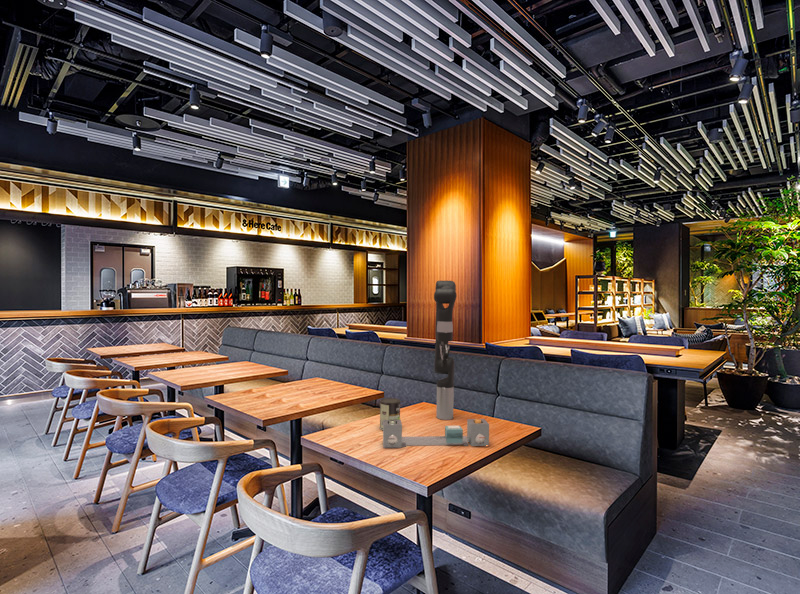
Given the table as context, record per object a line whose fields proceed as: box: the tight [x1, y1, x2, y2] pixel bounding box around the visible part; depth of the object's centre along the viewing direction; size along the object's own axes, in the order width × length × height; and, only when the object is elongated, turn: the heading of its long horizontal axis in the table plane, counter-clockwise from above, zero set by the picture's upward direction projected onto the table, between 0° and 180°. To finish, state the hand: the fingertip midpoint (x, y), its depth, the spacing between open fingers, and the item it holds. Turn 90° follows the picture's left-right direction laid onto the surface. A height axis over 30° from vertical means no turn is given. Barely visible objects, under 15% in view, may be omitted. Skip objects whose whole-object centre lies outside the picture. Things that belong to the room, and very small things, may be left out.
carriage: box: [444, 425, 464, 443], centre depth 188 cm, size 5×7×6 cm
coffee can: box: [379, 397, 401, 431], centre depth 209 cm, size 10×10×14 cm
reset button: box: [474, 418, 482, 423], centre depth 189 cm, size 3×3×4 cm
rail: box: [402, 435, 469, 448], centre depth 188 cm, size 6×30×3 cm, turn 94°
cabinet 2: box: [466, 418, 490, 447], centre depth 189 cm, size 9×8×10 cm
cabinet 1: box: [382, 419, 403, 449], centre depth 186 cm, size 9×8×11 cm
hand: (444, 367), depth 198 cm, fingers closed
